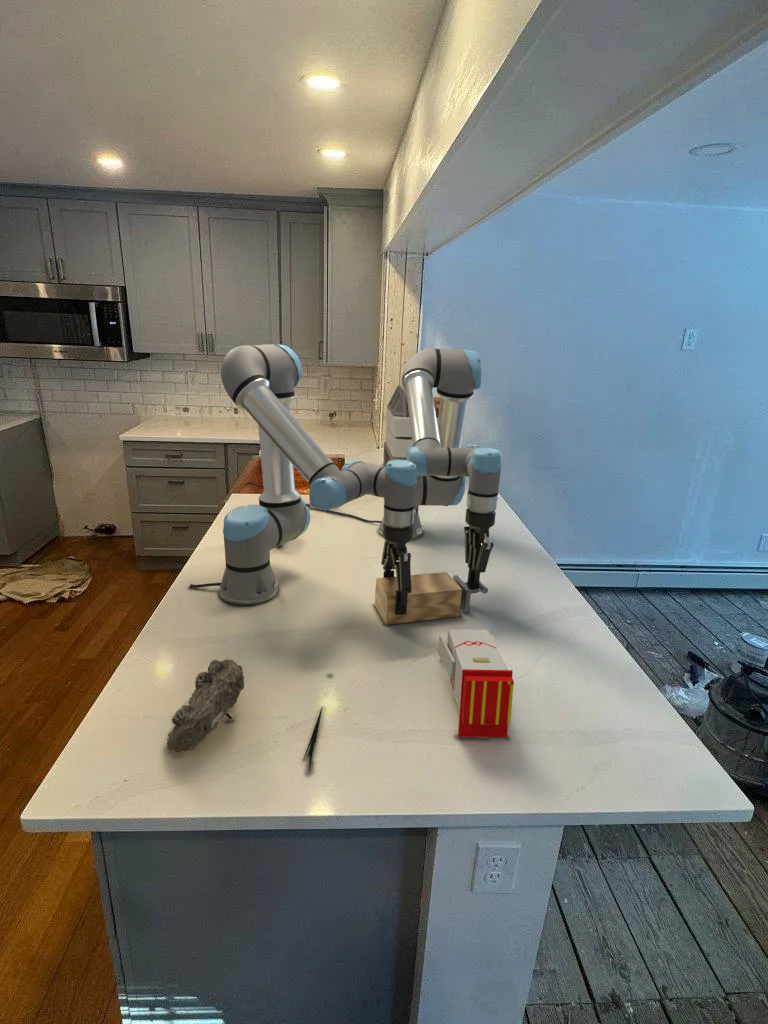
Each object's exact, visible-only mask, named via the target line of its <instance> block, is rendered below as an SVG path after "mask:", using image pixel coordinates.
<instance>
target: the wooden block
mask: <svg viewBox="0 0 768 1024" xmlns="http://www.w3.org/2000/svg"><path fill="white" fill-rule="evenodd" d="M374 590H375V591H374V606H375V608H376V610H377V612H378V613H379V615H380V617H381V619H382V621H383V622H384V625H386V626H387V625H395V624H396V625H397V624H405V623H413V622H422V621H423V622H424V621H430V620H431V621H432V620H440V619H448V618H456V617H460V611H461V606H460V602H461V592H462V589H461V588H460V587H459V585H458V584H457V583H456V582H455V581H454V580H453V577H452V576H451V575H450V574H449V573H448V572H447V571H444V572H443V571H441V572H430V573H419V574H411V590H412V591H411V593H408V595H407V611H406V614H402V615H396V614H395V607H396V592H395V591H396V590H398V586H397V577H396V576H394V577H385V578H383V577H376V578H375V589H374Z"/></svg>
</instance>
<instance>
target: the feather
mask: <svg viewBox="0 0 768 1024" xmlns="http://www.w3.org/2000/svg"><path fill="white" fill-rule="evenodd" d="M329 675H330V676H331V675H332V674H331V673H330V674H329ZM322 710H323V707H321V708H320V710H319V713H318V716H317V719H316V723H315V725H314V728H313V731H312V733H311V737H310V739H309V742H308V745H307V748H306V751H305V754H304V757H303V760H302V763H301V767H302V765H303V763H304V761H305V758H308V759H309V760H308V762H307V763H308V764H307V766H308V771H310V770H311V766H312V765H311V764H312V760H313V757H315V756H314V755H315V751H316V749H315V746H317V739H318V733H319V729H320V722H321V717H322V712H323V711H322ZM313 754H314V755H313ZM306 755H307V757H306Z"/></svg>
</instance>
